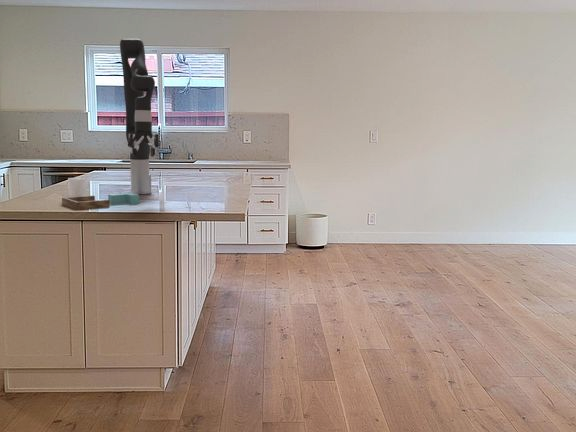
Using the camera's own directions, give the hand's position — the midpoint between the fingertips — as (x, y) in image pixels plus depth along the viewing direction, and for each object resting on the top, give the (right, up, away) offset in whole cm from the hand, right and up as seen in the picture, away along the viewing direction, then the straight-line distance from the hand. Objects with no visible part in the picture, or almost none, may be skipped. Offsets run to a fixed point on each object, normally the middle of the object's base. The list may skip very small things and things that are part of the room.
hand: (143, 156), depth 280 cm
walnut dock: (-21, -22, -14) cm, 34 cm away
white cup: (-31, -20, +3) cm, 37 cm away
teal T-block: (-9, -21, -4) cm, 23 cm away
